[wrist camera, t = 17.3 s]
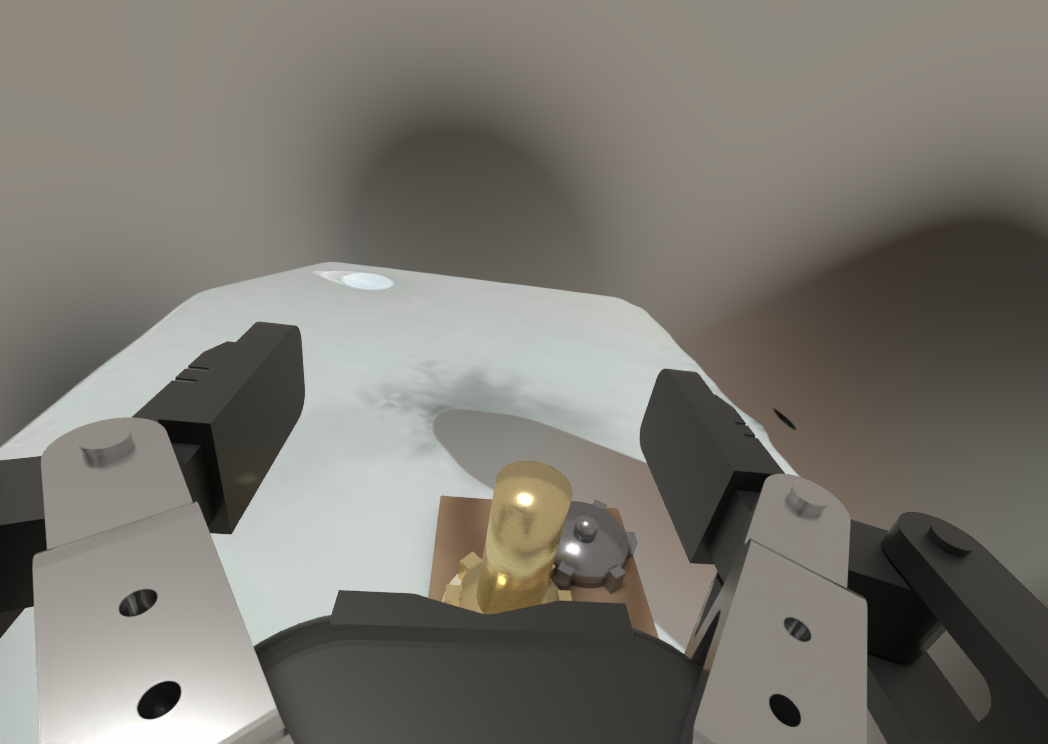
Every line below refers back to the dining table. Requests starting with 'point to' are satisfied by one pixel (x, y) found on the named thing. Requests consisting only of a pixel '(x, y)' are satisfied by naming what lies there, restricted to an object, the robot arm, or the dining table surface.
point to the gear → (592, 549)
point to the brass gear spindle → (517, 543)
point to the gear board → (467, 533)
